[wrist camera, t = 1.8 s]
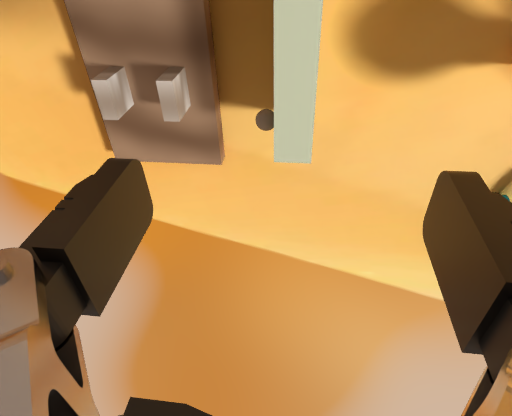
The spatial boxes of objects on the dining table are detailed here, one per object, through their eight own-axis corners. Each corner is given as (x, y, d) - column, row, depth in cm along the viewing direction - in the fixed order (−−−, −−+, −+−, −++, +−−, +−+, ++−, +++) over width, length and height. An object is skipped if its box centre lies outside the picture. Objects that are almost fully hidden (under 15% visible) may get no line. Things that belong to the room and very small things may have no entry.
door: (262, -94, 21) (240, -100, 15) (326, -97, 21) (331, -104, 15) (265, 110, 30) (252, 161, 23) (312, 111, 29) (311, 163, 23)
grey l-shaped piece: (19, -185, 20) (-212, -267, 11) (188, -201, 19) (77, -305, 10) (122, 152, 34) (55, 233, 25) (224, 156, 33) (191, 243, 24)
